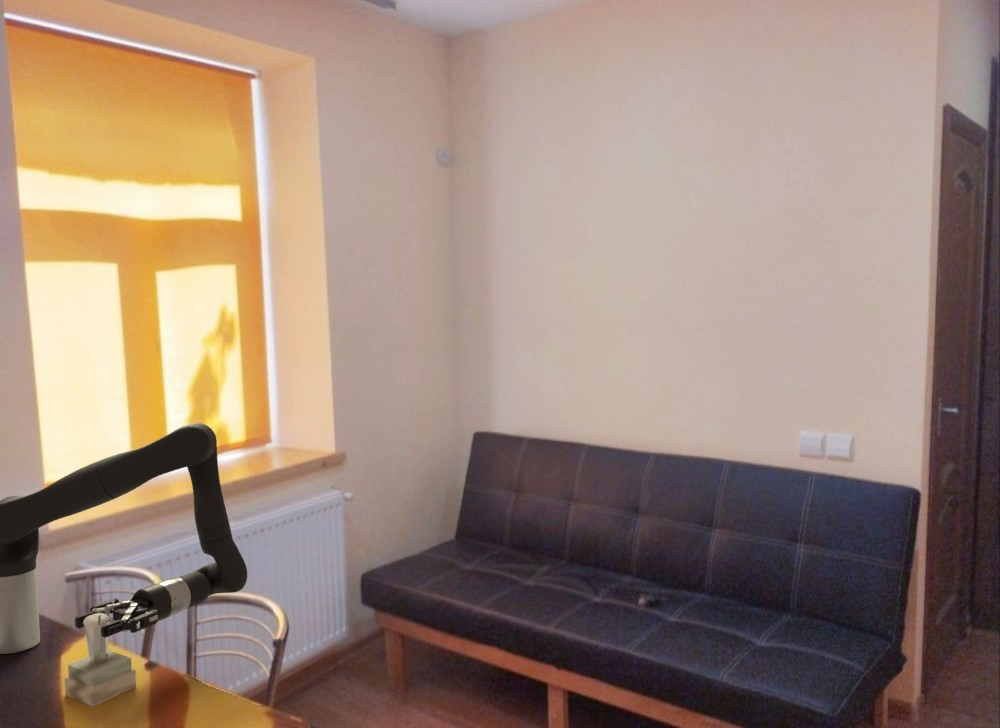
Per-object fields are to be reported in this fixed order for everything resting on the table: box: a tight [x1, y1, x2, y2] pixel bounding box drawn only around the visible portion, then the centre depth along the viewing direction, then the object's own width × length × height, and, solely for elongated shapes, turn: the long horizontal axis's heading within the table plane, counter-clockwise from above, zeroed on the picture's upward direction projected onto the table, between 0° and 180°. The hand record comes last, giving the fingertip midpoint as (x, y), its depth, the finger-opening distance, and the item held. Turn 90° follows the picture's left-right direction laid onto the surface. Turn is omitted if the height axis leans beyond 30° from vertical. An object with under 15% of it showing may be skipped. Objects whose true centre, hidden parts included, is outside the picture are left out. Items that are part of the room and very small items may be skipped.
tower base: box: [64, 649, 137, 708], centre depth 156 cm, size 9×9×6 cm
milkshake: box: [83, 612, 109, 663], centre depth 155 cm, size 5×5×10 cm
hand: (88, 627), depth 153 cm, fingers open, 8 cm apart
